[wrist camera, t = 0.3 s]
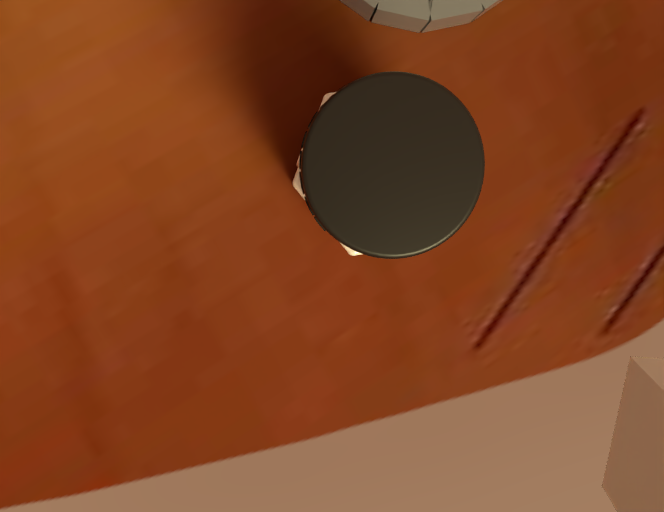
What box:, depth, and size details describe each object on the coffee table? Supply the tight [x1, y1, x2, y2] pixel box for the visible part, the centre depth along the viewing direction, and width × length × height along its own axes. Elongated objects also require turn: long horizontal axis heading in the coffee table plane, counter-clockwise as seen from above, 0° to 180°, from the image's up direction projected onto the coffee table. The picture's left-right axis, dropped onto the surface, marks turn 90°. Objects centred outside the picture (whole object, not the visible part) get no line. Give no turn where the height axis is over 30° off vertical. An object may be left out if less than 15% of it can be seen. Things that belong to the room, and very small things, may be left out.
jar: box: [293, 72, 485, 259], centre depth 30 cm, size 9×8×12 cm
